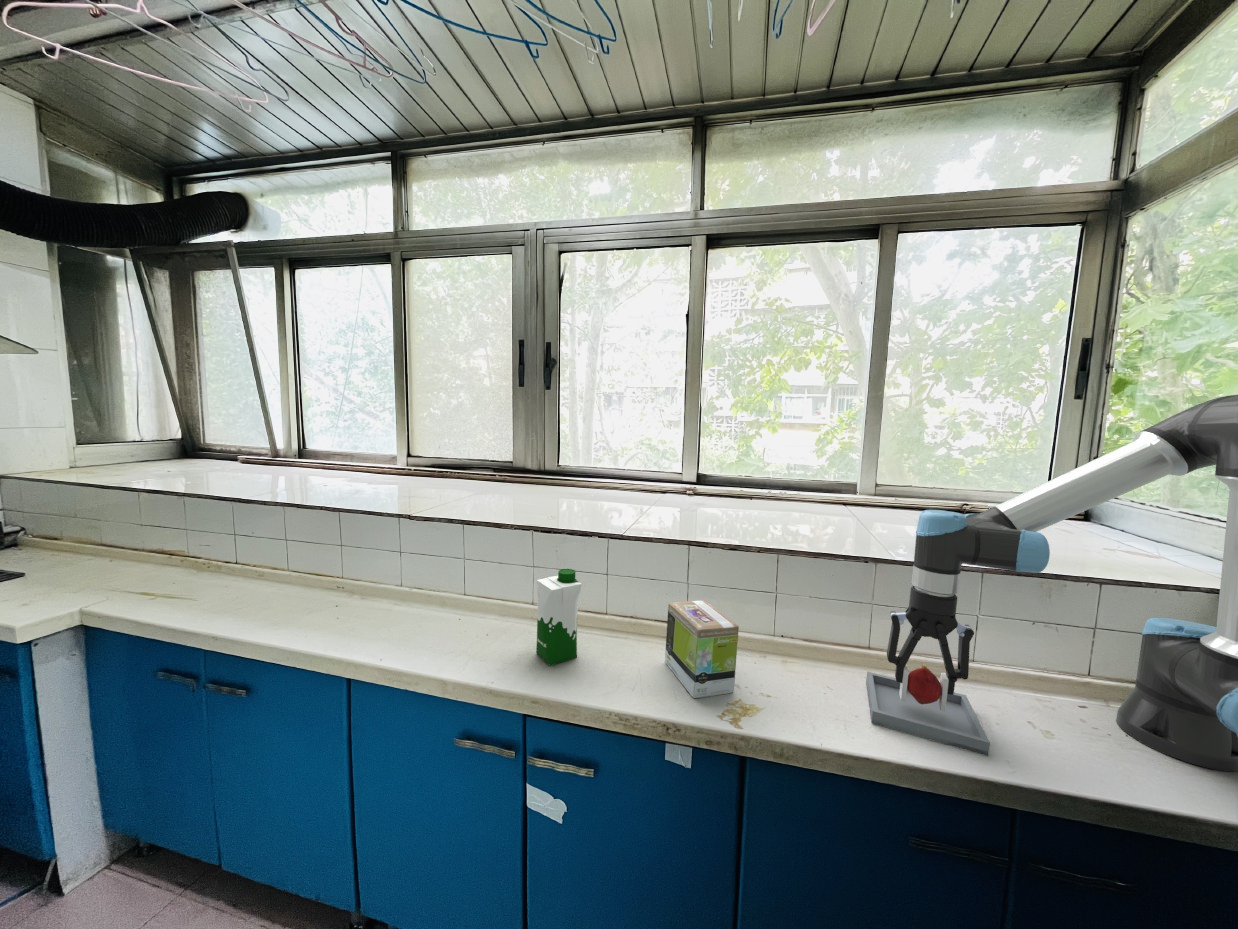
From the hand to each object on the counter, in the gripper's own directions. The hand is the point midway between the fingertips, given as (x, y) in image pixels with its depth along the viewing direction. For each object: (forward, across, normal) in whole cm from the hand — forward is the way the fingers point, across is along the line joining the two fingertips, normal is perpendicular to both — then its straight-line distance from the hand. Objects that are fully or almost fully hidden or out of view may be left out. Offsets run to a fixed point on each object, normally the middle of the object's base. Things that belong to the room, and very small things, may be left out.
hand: (921, 702), depth 90 cm
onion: (0, 0, 0) cm, 0 cm away
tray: (+3, 0, 0) cm, 3 cm away
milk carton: (+3, +75, +17) cm, 77 cm away
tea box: (+3, +43, +9) cm, 44 cm away
